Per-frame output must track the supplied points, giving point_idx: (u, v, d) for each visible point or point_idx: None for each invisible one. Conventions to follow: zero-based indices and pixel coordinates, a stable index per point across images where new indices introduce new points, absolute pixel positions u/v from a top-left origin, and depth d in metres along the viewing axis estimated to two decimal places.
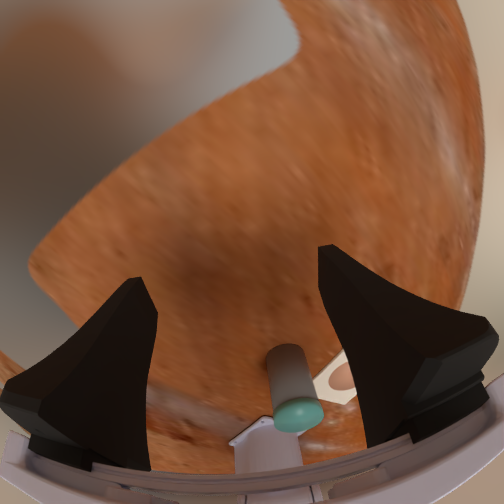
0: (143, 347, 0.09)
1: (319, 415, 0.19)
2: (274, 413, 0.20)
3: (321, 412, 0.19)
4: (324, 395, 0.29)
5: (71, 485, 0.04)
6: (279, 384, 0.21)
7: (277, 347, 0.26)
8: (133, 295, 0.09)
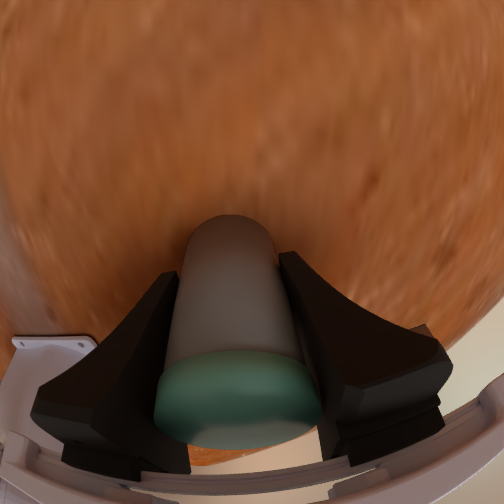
0: None
1: (291, 434, 0.06)
2: (190, 368, 0.05)
3: (306, 429, 0.06)
4: None
5: (71, 485, 0.04)
6: (238, 289, 0.07)
7: (245, 219, 0.11)
8: (170, 289, 0.09)
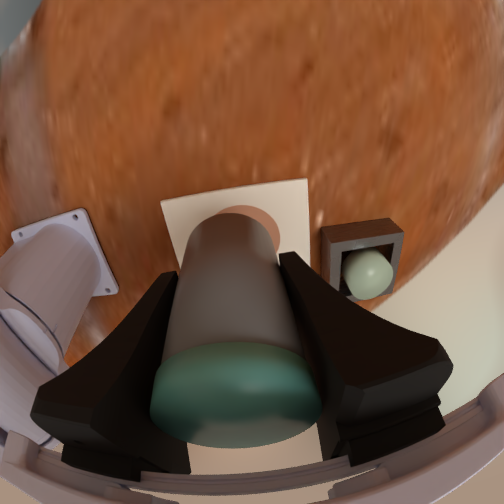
0: None
1: (292, 431, 0.06)
2: (186, 359, 0.05)
3: (307, 426, 0.06)
4: (182, 243, 0.20)
5: (71, 486, 0.04)
6: (236, 282, 0.07)
7: (244, 216, 0.11)
8: (170, 289, 0.09)
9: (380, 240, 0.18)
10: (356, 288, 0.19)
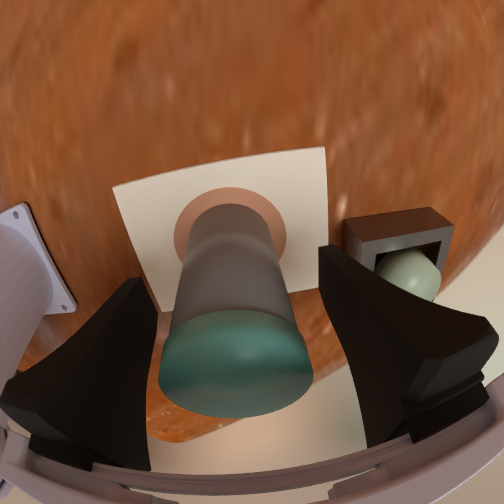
0: (142, 347, 0.09)
1: (286, 399, 0.07)
2: (193, 326, 0.06)
3: (300, 394, 0.07)
4: (146, 246, 0.13)
5: (71, 485, 0.04)
6: (236, 262, 0.08)
7: (243, 207, 0.12)
8: (133, 295, 0.09)
9: (426, 237, 0.12)
10: None
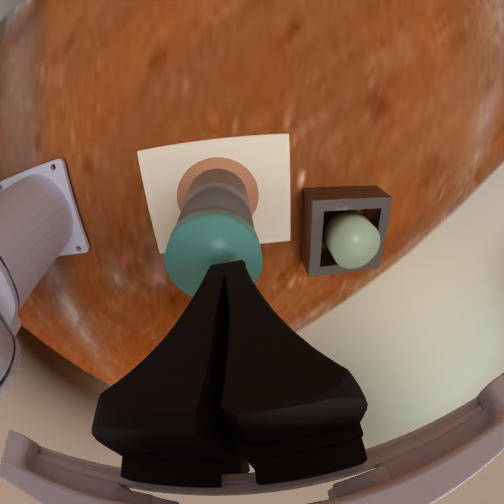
0: None
1: None
2: (192, 215, 0.11)
3: (255, 278, 0.12)
4: (156, 197, 0.18)
5: (71, 485, 0.04)
6: (220, 193, 0.13)
7: (229, 171, 0.17)
8: (225, 281, 0.09)
9: (366, 203, 0.17)
10: (340, 254, 0.18)
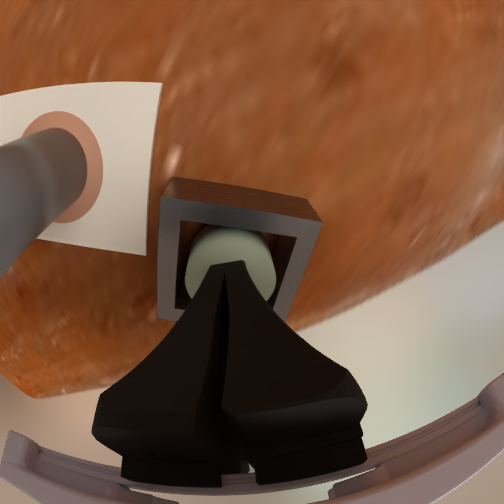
0: None
1: None
2: None
3: None
4: None
5: (71, 485, 0.04)
6: None
7: (67, 133, 0.09)
8: (225, 281, 0.09)
9: (267, 222, 0.10)
10: (198, 287, 0.11)
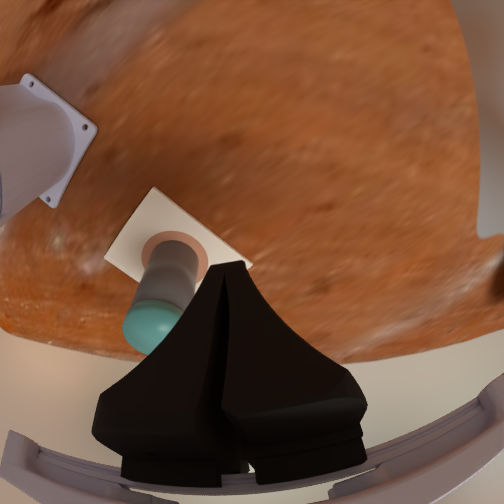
0: None
1: None
2: (166, 306, 0.15)
3: None
4: (135, 226, 0.20)
5: (71, 485, 0.04)
6: (186, 289, 0.17)
7: (196, 256, 0.21)
8: (225, 281, 0.09)
9: None
10: None
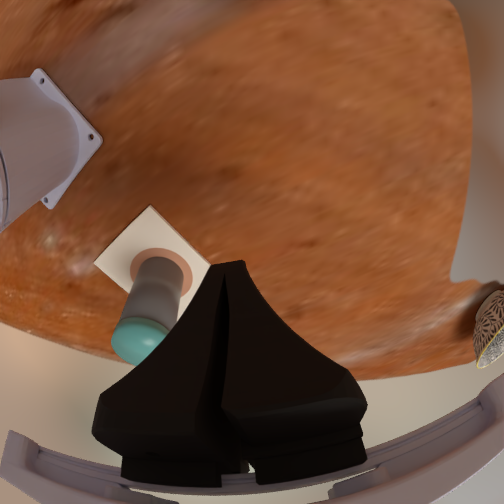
0: None
1: None
2: (154, 324, 0.16)
3: None
4: (128, 238, 0.20)
5: (71, 485, 0.04)
6: (172, 308, 0.18)
7: (182, 274, 0.22)
8: (225, 281, 0.09)
9: None
10: None
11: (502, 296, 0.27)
